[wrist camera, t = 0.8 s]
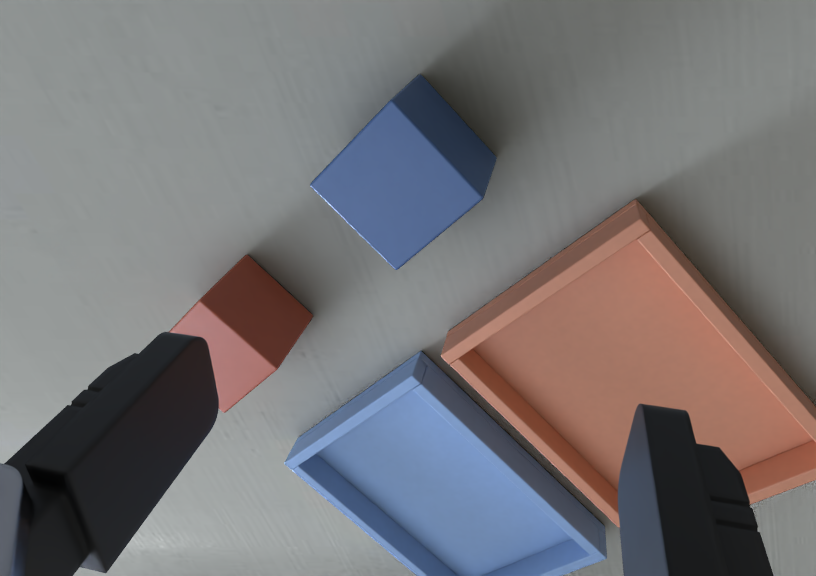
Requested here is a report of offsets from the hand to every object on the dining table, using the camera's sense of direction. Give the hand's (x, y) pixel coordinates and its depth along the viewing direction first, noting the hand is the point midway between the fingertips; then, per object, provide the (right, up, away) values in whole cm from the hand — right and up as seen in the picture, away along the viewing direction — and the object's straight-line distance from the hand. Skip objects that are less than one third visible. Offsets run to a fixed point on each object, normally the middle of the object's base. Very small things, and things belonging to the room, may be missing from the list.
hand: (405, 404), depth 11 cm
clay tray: (+10, -2, +16) cm, 19 cm away
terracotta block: (-8, +1, +19) cm, 21 cm away
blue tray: (+2, -9, +22) cm, 24 cm away
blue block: (+1, +8, +13) cm, 15 cm away
